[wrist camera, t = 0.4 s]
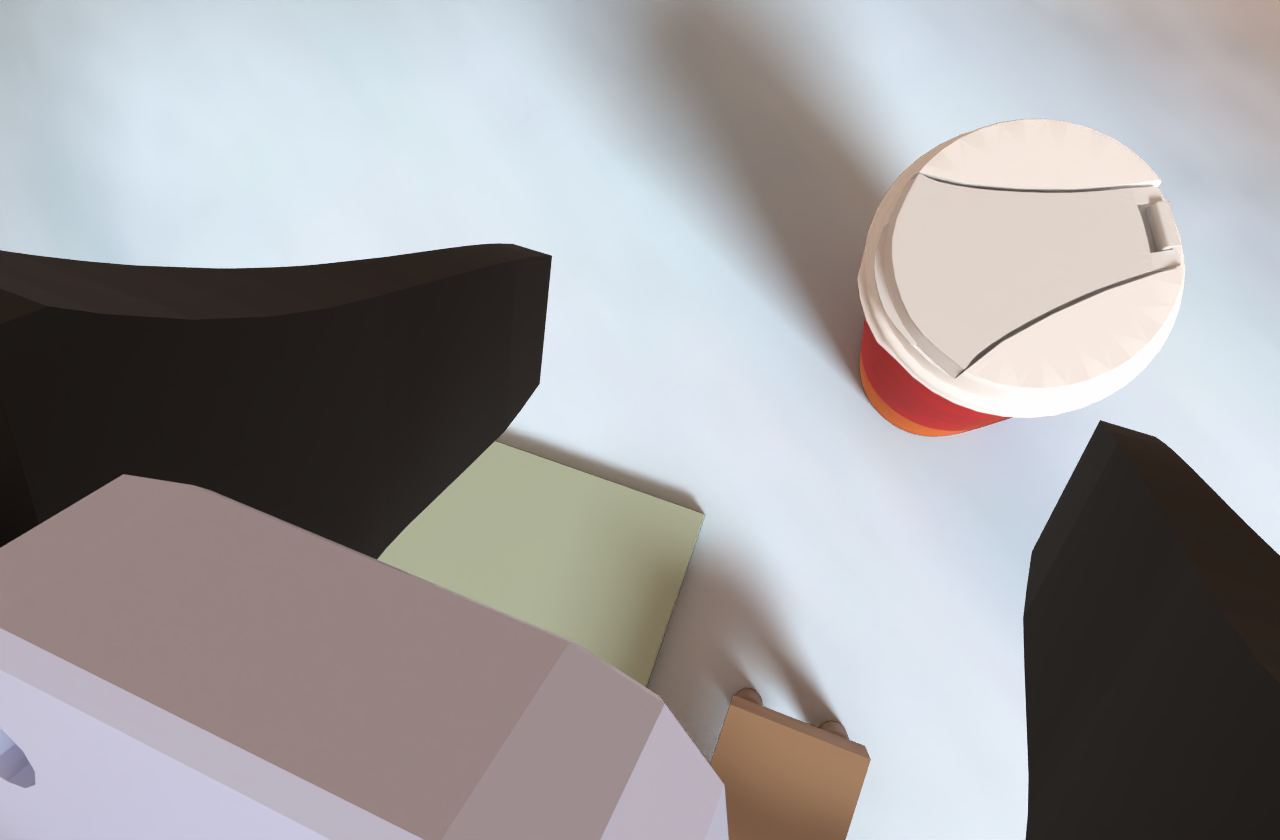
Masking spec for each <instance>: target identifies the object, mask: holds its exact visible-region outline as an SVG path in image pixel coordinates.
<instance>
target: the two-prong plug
mask: <svg viewBox="0 0 1280 840" xmlns="http://www.w3.org/2000/svg"><path fill="white" fill-rule="evenodd" d="M870 760H871V759H870V757H869V755H868V752H867V750H866V748H865V746H863V745H861V744H858V743H856V742H853V741H850V740H849V738H848V735H847V732H846V730H845V728H844V727H843V726H842V725H841V724H840V723H838V722H835V721H827V722H825V723H823V724H822V725H821V726H820V727H819V728H817V727H815V726H812V725H809V724H807V723H804V722H802V721H799V720H797V719H794V718H791V717H789V716H786V715H784V714H781V713H779V712H776V711H774V710H771V709H768V708H766V707H763V706H762V699H761V696H760V695H759V694H758V692H756V691H755V690H753V689H749V688H745V689H742V690H740V691H739V692H737V694H736V695H733V697H732V700H731V703H730V706H729V709H728V712H727V715H726V718H725V721H724V724H723V727H722V730H721V733H720V736H719V739H718V742H717V745H716V748H715V751H714V754H713V757H712V760H711V763H710V766H711V767H712V769H713V770H714V771H715V773H716V774H717V775H718V777H719V778H720V780H721V781H722V782H723V784H724V785H725V798H726V811H727V824H728V837H729V840H845V839H846V836H847V833H848V829H849V826H850V823H851V820H852V817H853V814H854V810H855V807H856V804H857V801H858V798H859V795H860V791H861V788H862V785H863V782H864V779H865V776H866V772H867V769H868V766H869V763H870Z"/></svg>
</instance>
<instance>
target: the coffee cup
mask: <svg viewBox="0 0 1280 840" xmlns="http://www.w3.org/2000/svg"><path fill="white" fill-rule="evenodd" d="M1160 183H1161V180H1160V179H1159V178H1158V176H1157V175H1156V174H1155V173H1154V172H1153V170H1152V169H1151V168H1150V167H1149V166H1148V164H1146V163H1145V162H1144V161H1143V160H1142V159H1141V158H1140V157H1138V156H1137V155H1136V154H1135V153H1134V152H1133V151H1132V150H1130V149H1129V148H1127V147H1126V146H1124V145H1122V144H1121V143H1119V142H1118V141H1116V140H1115V139H1113V138H1111V137H1109V136H1107V135H1104V134H1102V133H1100V132H1098V131H1095V130H1093V129H1091V128H1087V127H1084V126H1080V125H1077V124H1073V123H1070V122H1063V121H1056V120H1048V119H1020V120H1014V121H1007V122H1000V123H996V124H993V125H990V126H986V127H983V128H980V129H977V130H974V131H972V132H968V133H965V134H961V135H959V136H957V137H955V138H953V139H951V140H948V141H946V142H944V143H942V144H940V145H938V146H937V147H935V148H933V149H932V150H930V151H929V152H927V153H926V154H924V155H923V156H921V157H920V158H919V159H917V160H916V161H915V162H914V163H913V164H912V165H911V166H910V167H908V168H907V169H906V170H905V171H904V172H903V173H902V174H901V175H900V176H899V178H898V179H897V180H896V181H895V182H894V184H893V185H892V186H891V187H890V189H889V190H888V191H887V193H886V195H885V196H884V198H883V200H882V201H881V203H880V205H879V206H878V208H877V210H876V212H875V215H874V217H873V220H872V223H871V225H870V228H869V230H868V234H867V239H866V244H865V249H864V253H863V257H862V261H861V265H860V269H859V272H858V276H857V280H858V287H859V295H860V301H861V304H862V308H863V311H864V314H865V322H864V329H863V335H862V343H861V351H860V375H861V380H862V384H863V388H864V390H865V393H866V395H867V397H868V399H869V401H870V402H871V404H872V405H873V407H874V408H875V409H876V410H877V412H878V413H879V414H880V415H881V416H882V417H883V418H885V419H886V420H887V421H888V422H890V423H891V424H893V425H894V426H896V427H898V428H900V429H902V430H904V431H907V432H909V433H913V434H917V435H922V436H930V437H937V436H948V435H954V434H959V433H963V432H967V431H970V430H973V429H977V428H980V427H984V426H987V425H990V424H993V423H996V422H1000V421H1003V420H1006V419H1009V418H1012V417H1021V418H1033V417H1043V416H1053V415H1058V414H1062V413H1066V412H1070V411H1074V410H1077V409H1081V408H1083V407H1085V406H1088V405H1090V404H1093V403H1095V402H1097V401H1100V400H1102V399H1104V398H1106V397H1107V396H1109V395H1111V394H1112V393H1114V392H1115V391H1117V390H1119V389H1120V388H1122V387H1123V386H1125V385H1126V384H1128V383H1129V382H1130V381H1131V380H1132V379H1133V378H1134V377H1136V376H1137V375H1138V374H1139V373H1140V372H1141V371H1142V370H1144V369H1145V368H1146V366H1147V365H1148V364H1149V363H1150V361H1151V360H1152V359H1153V358H1154V357H1155V355H1156V354H1157V353H1158V352H1159V350H1160V349H1161V347H1162V346H1163V344H1164V342H1165V340H1166V339H1167V337H1168V335H1169V333H1170V332H1171V330H1172V328H1173V325H1174V322H1175V319H1176V317H1177V314H1178V311H1179V308H1180V305H1181V299H1182V293H1183V287H1184V274H1185V268H1186V267H1184V255H1183V250H1182V245H1181V240H1180V235H1179V232H1178V229H1177V226H1176V224H1175V221H1174V218H1173V215H1172V211H1171V208H1170V204H1169V201H1165V200H1164V198H1163V196H1162V194H1161V192H1160V188H1159V187H1158V186H1159V184H1160Z"/></svg>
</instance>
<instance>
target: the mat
mask: <svg viewBox="0 0 1280 840" xmlns="http://www.w3.org/2000/svg"><path fill="white" fill-rule="evenodd" d="M704 517H705V514H702V513H699V512H696V511H694V510H691V509H688V508H685V507H682V506H679V505H676V504H674V503H671V502H668V501H665V500H662V499H659V498H656V497H654V496H651V495H648V494H645V493H642V492H639V491H636V490H634V489H631V488H628V487H625V486H622V485H619V484H616V483H614V482H611V481H608V480H605V479H602V478H599V477H596V476H594V475H591V474H588V473H585V472H582V471H579V470H576V469H574V468H571V467H568V466H565V465H562V464H559V463H556V462H554V461H551V460H548V459H545V458H542V457H539V456H536V455H534V454H531V453H528V452H525V451H522V450H519V449H516V448H514V447H511V446H508V445H505V444H502V443H499V442H496V441H494V443H492V444H491V445H490V446H489V447H488V448H487V449H486V450H485V451H484V452H483V453H482V454H481V455H480V456H479V457H478V458H477V459H476V460H475V461H474V462H473V463H472V464H471V465H470V466H469V467H468V468H467V469H466V470H465V471H464V472H463V473H462V474H461V475H460V476H459V477H458V478H457V479H456V480H455V481H454V482H453V483H451V484H450V485H449V486H448V487H447V488H446V489H445V490H444V491H443V492H442V493H441V494H440V495H439V496H438V497H437V498H436V499H435V500H434V501H433V502H432V503H431V504H430V505H429V506H428V507H427V508H426V509H425V510H423V511H422V512H421V513H420V514H419V515H418V516H417V517H416V518H415V519H414V520H413V521H412V522H411V523H410V524H409V525H408V526H407V527H406V528H405V529H404V530H403V531H402V532H401V533H400V534H399V535H398V537H397V538H396V539H395V540H394V541H393V542H392V543H391V544H390V545H389V546H388V547H387V548H386V549H385V551H384V552H383V553H382V554H381V556H380V557H379V558H378V559H377V560H379V561H381V562H384V563H386V564H389V565H391V566H393V567H396V568H398V569H401V570H403V571H405V572H408V573H410V574H413V575H415V576H417V577H420V578H422V579H425V580H427V581H429V582H432V583H434V584H437V585H439V586H441V587H444V588H446V589H449V590H451V591H453V592H456V593H458V594H461V595H463V596H465V597H468V598H470V599H473V600H475V601H477V602H480V603H482V604H485V605H487V606H489V607H492V608H494V609H497V610H499V611H501V612H504V613H506V614H509V615H511V616H514V617H516V618H518V619H521V620H523V621H526V622H528V623H530V624H533V625H535V626H538V627H540V628H542V629H545V630H547V631H550V632H552V633H554V634H557V635H559V636H562V637H564V638H566V639H569V640H571V641H574V642H576V643H578V644H579V645H581V646H582V647H584V648H585V649H587V650H589V651H590V652H592V653H593V654H595V655H596V656H598V657H599V658H601V659H603V660H604V661H606V662H607V663H609V664H610V665H612V666H613V667H615V668H617V669H618V670H620V671H621V672H623V673H624V674H626V675H627V676H629V677H631V678H632V679H634V680H635V681H637V682H638V683H640V684H642V685H643V686H645V687H647V684H648V681H649V679H650V676H651V673H652V670H653V667H654V664H655V661H656V658H657V655H658V652H659V649H660V646H661V643H662V640H663V637H664V635H665V632H666V629H667V626H668V623H669V620H670V617H671V614H672V611H673V608H674V605H675V602H676V599H677V596H678V593H679V591H680V588H681V585H682V582H683V579H684V576H685V573H686V570H687V567H688V564H689V561H690V558H691V555H692V552H693V549H694V547H695V544H696V541H697V538H698V535H699V532H700V529H701V526H702V523H703V520H704Z"/></svg>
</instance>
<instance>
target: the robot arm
mask: <svg viewBox="0 0 1280 840" xmlns="http://www.w3.org/2000/svg"><path fill="white" fill-rule="evenodd" d="M551 260H552V256H551V255H547V254H544V253H541V252H537V251H534V250H531V249H527V248H524V247H521V246H517V245H514V244H481V245H471V246H462V247H454V248H447V249H439V250H432V251H425V252H418V253H411V254H404V255H397V256H390V257H382V258H373V259H364V260H355V261H346V262H337V263H328V264H319V265H307V266H292V267H273V268H237V269H214V268H186V267H159V266H135V265H122V264H110V263H99V262H88V261H78V260H70V259H61V258H52V257H44V256H36V255H28V254H21V253H14V252H7V251H1V250H0V840H729V837H728V824H727V811H726V798H725V785H724V784H723V782H722V781H721V780H720V778H719V777H718V775H717V774H716V773H715V771H714V770H713V769H712V767H711V766H710V764H709V763H708V762H707V760H706V759H705V758H704V756H703V755H702V754H701V752H700V751H699V749H698V748H697V747H696V745H695V744H694V743H693V741H692V740H691V738H690V737H689V736H688V734H687V733H686V732H685V730H684V729H683V728H682V726H681V725H680V723H679V722H678V721H677V719H676V718H675V717H674V715H673V714H672V712H671V711H670V710H669V708H668V707H667V706H666V704H665V703H664V702H663V700H662V699H661V697H660V696H659V695H657V694H656V693H654V692H652V691H651V690H649V689H648V688H646V687H645V686H643V685H642V684H640V683H638V682H637V681H635V680H634V679H632V678H631V677H629V676H627V675H626V674H624V673H623V672H621V671H620V670H618V669H617V668H615V667H613V666H612V665H610V664H609V663H607V662H606V661H604V660H603V659H601V658H599V657H598V656H596V655H595V654H593V653H592V652H590V651H589V650H587V649H585V648H584V647H582V646H581V645H579V644H578V643H576V642H574V641H571V640H569V639H566V638H564V637H562V636H559V635H557V634H554V633H552V632H550V631H547V630H545V629H542V628H540V627H538V626H535V625H533V624H530V623H528V622H526V621H523V620H521V619H518V618H516V617H514V616H511V615H509V614H506V613H504V612H501V611H499V610H497V609H494V608H492V607H489V606H487V605H485V604H482V603H480V602H477V601H475V600H473V599H470V598H468V597H465V596H463V595H461V594H458V593H456V592H453V591H451V590H449V589H446V588H444V587H441V586H439V585H437V584H434V583H432V582H429V581H427V580H425V579H422V578H420V577H417V576H415V575H413V574H410V573H408V572H405V571H403V570H401V569H398V568H396V567H393V566H391V565H389V564H386V563H384V562H381V561H379V560H377V559H378V558H379V557H380V556H381V554H382V553H383V552H384V551H385V549H386V548H387V547H388V546H389V545H390V544H391V543H392V542H393V541H394V540H395V539H396V538H397V537H398V535H399V534H400V533H401V532H402V531H403V530H404V529H405V528H406V527H407V526H408V525H409V524H410V523H411V522H412V521H413V520H414V519H415V518H416V517H417V516H418V515H419V514H420V513H421V512H422V511H423V510H425V509H426V508H427V507H428V506H429V505H430V504H431V503H432V502H433V501H434V500H435V499H436V498H437V497H438V496H439V495H440V494H441V493H442V492H443V491H444V490H445V489H446V488H447V487H448V486H449V485H450V484H451V483H453V482H454V481H455V480H456V479H457V478H458V477H459V476H460V475H461V474H462V473H463V472H464V471H465V470H466V469H467V468H468V467H469V466H470V465H471V464H472V463H473V462H474V461H475V460H476V459H477V458H478V457H479V456H480V455H481V454H482V453H483V452H484V451H485V450H486V449H487V448H488V447H489V446H490V445H491V444H492V443H494V441H495V440H496V439H497V438H498V437H499V436H500V435H501V434H502V433H503V432H504V431H505V430H506V429H507V427H508V426H509V425H510V423H511V422H512V421H513V420H514V418H515V417H516V416H517V414H518V413H519V412H520V411H521V409H522V408H523V406H524V405H525V404H526V402H527V401H528V399H529V398H530V396H531V395H532V394H533V392H534V391H535V389H536V388H537V387H538V385H539V384H540V373H541V363H542V353H543V342H544V332H545V322H546V311H547V301H548V291H549V280H550V270H551ZM1023 626H1024V665H1025V692H1026V718H1027V745H1028V771H1029V787H1028V819H1027V831H1026V840H1280V555H1279V554H1277V553H1276V552H1275V551H1274V550H1273V549H1272V548H1271V547H1270V546H1269V545H1268V544H1267V543H1266V542H1265V541H1264V540H1263V539H1262V538H1261V537H1260V536H1259V535H1258V534H1257V533H1256V532H1255V531H1254V530H1252V529H1251V528H1250V527H1249V526H1248V525H1247V524H1246V523H1245V522H1244V521H1243V520H1242V519H1241V518H1240V517H1239V516H1238V515H1237V514H1236V513H1235V512H1234V511H1233V510H1232V509H1231V508H1230V507H1229V506H1228V505H1227V504H1226V503H1225V502H1224V501H1223V499H1222V498H1221V497H1220V496H1219V495H1218V494H1217V493H1216V492H1215V491H1214V490H1213V489H1212V488H1211V487H1210V486H1209V485H1208V484H1207V483H1206V482H1205V481H1204V480H1203V479H1202V478H1201V477H1200V476H1199V475H1198V474H1197V473H1196V472H1195V471H1194V470H1193V469H1192V468H1191V467H1190V466H1189V465H1188V464H1187V463H1186V462H1185V461H1184V460H1183V459H1181V458H1180V457H1179V456H1178V455H1177V454H1176V453H1175V452H1174V451H1173V450H1172V449H1171V448H1169V447H1168V446H1167V445H1166V444H1165V443H1163V442H1162V441H1161V440H1159V439H1158V438H1156V437H1154V436H1151V435H1147V434H1144V433H1141V432H1137V431H1134V430H1131V429H1127V428H1124V427H1121V426H1117V425H1114V424H1111V423H1107V422H1104V421H1101V420H1100V422H1099V424H1098V425H1097V427H1096V429H1095V431H1094V433H1093V435H1092V437H1091V439H1090V441H1089V443H1088V445H1087V447H1086V449H1085V450H1084V452H1083V454H1082V456H1081V458H1080V460H1079V462H1078V464H1077V466H1076V468H1075V470H1074V472H1073V474H1072V476H1071V477H1070V479H1069V481H1068V483H1067V485H1066V487H1065V489H1064V491H1063V493H1062V495H1061V497H1060V499H1059V501H1058V503H1057V504H1056V506H1055V508H1054V510H1053V512H1052V514H1051V516H1050V518H1049V520H1048V522H1047V524H1046V526H1045V528H1044V530H1043V531H1042V533H1041V535H1040V537H1039V539H1038V541H1037V543H1036V545H1035V547H1034V549H1033V551H1032V555H1031V562H1030V569H1029V576H1028V583H1027V591H1026V599H1025V608H1024V617H1023Z"/></svg>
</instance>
